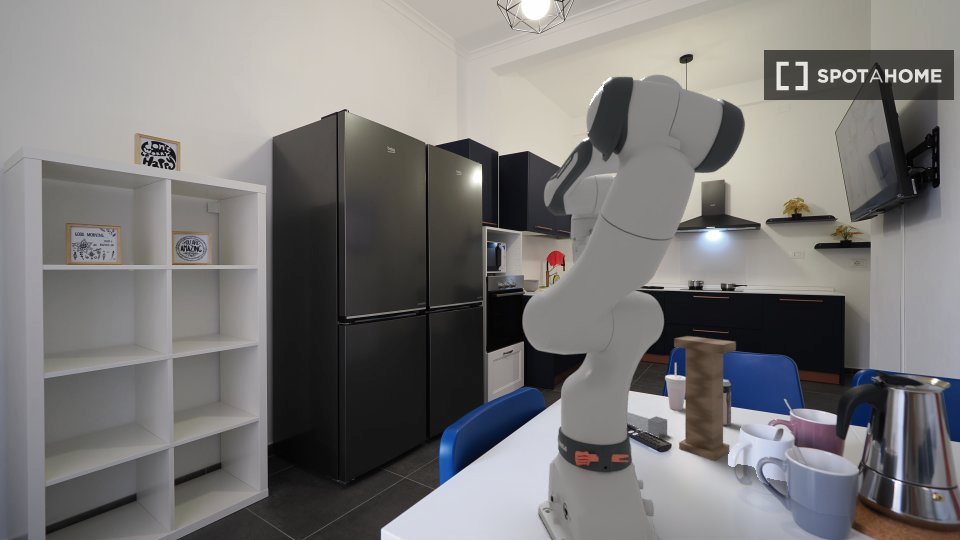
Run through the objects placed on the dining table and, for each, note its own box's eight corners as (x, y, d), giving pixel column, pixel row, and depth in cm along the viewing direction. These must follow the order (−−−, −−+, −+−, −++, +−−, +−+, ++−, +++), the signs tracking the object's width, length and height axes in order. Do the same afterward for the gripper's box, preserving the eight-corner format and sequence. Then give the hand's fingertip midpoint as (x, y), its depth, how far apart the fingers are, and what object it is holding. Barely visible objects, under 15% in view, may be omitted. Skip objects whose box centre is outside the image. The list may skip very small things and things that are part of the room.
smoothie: (682, 405, 130) (683, 361, 130) (691, 412, 123) (691, 365, 123) (661, 404, 130) (662, 360, 130) (669, 411, 124) (669, 365, 124)
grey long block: (599, 418, 118) (599, 404, 118) (607, 415, 120) (607, 402, 120) (659, 438, 104) (659, 422, 104) (667, 435, 106) (667, 419, 106)
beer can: (733, 426, 112) (733, 382, 112) (714, 425, 113) (714, 381, 113) (727, 420, 117) (727, 378, 117) (708, 419, 118) (708, 377, 118)
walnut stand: (672, 446, 99) (673, 338, 99) (688, 438, 104) (688, 335, 104) (722, 463, 90) (722, 345, 90) (736, 453, 95) (736, 341, 95)
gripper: (611, 226, 99) (611, 284, 98) (590, 235, 119) (590, 282, 119) (585, 226, 99) (584, 284, 99) (568, 234, 119) (568, 282, 119)
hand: (587, 283), depth 109 cm, fingers open, 8 cm apart
